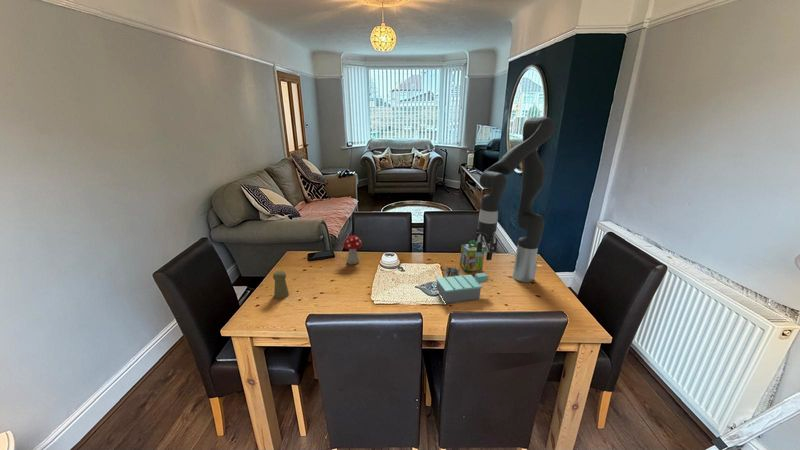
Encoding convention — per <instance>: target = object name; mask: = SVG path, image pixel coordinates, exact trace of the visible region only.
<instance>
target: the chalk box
mask: <svg viewBox="0 0 800 450" xmlns="http://www.w3.org/2000/svg"><path fill="white" fill-rule="evenodd" d="M460 247H461V249H460V259H459V265H460V266H461V268H462V269H463V270H464V271H465V272H478V271H480V272H481V271H483V265H484V258H485V257H484V256H485V249H483V248H482V252H477V251H476V250H477V243H476V241H475V239H473V240H468V243H465V244H461V246H460Z"/></svg>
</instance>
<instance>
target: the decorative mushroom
mask: <svg viewBox="0 0 800 450" xmlns="http://www.w3.org/2000/svg"><path fill="white" fill-rule="evenodd" d="M342 246H343V249H346V250H348V255H347V259H346V263H347V264H348V265H356V264H359V262H360V257H359V255H358V251H357V249H360V248H361V247H363V244H362V240H361V238H360V237H359V236H357V235H350V236H347V237H346V238H345V239H344V240H343V244H342Z"/></svg>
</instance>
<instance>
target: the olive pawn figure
mask: <svg viewBox="0 0 800 450" xmlns="http://www.w3.org/2000/svg"><path fill="white" fill-rule="evenodd" d="M272 278H273V280H274V292H273V295H274V296H273V297H274V299H277V300H283V299H285V298H288V297H289V296H290V292H289V289H288V285H287V281H286V278H287V274H286V272H285V271H284V270H278V271H275V272H273V274H272Z"/></svg>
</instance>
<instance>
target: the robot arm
mask: <svg viewBox="0 0 800 450" xmlns="http://www.w3.org/2000/svg"><path fill="white" fill-rule="evenodd" d="M554 132H555V122H554V120H553V119H552V118H551V117H542V116H539V117H537V116H535V117H528V118H526V120H525V121H524V123H523V127H522V142H520V143H519V144H517V145H515V146H513V147H512V148H510V149H509V150H508V151H506V153H504V155H503V156H502V157H501V158H500V159H499V160H498V161H497V162H495V163H494V164H492V165H491V166H489V167H488V168H486V169H485V170H484V171H483V172H482V173H481V175H480V177H479V184H480V186H481V187H483V189H488V190H491V191H490V193H489V194H488V193H487V194H484V195H482V197H481V202H480V208H479V209H480V210H479V215H478V224H477V228H476V229H475V233H474V240H475V241H476V243H477V250H476V251H477V252H482V249H483V244H484V246H485V248H486V256H485V260H486V261H491V260H492V257H493V253H497V248H498V238H497V237H495V238H494V234H495V233H496V232H497V227H498V220H499V206H500V202H501V201H500V200H501V198H502V196H503V193H504V191H505V188H506V185H507V177H506V176H509V175H511V174H512V173H513V172H514V171H515V170H516V169H517V168H518V166H519V165H520V164H521V163H522V171H521V186H520V188H521V190H520V197H519V198H520V200H519V206H518V210H517V211H518V212H517V219H516V224H517V227H518V228H519V229H520V230H522V231H524V232H527V233H526V236H522V237H521V236H520V237H519V238H518V240H517V245H516V252H515V258H514V259H515V260H514V266H513V271H512V277H513V279H514V280H516V281H519V282H520V283H521V282H522V283H530V282H532V281H533V280H535V278H536V271H537V265H538V261H537V255H538V249H539V245H540V242H541V240H542V237H543V233H544V228H545V218H544V217H543V216H542V215H541V214H538V213H535V212H533V206H534V205H533V204H534V201H535V199H536V198H537V196H538V195H539V194H540V193H541V191H542V189H543V187H544V183H545V174H546V173H545V168H544V165H543V162H542V160H541V158H540V156H539V154H538V150H537V149H538V148H539V147H540V146H541V145H543V144H544V143H546V142H547V141H548V140H549V139H550V138H551V137H552V136H553V133H554Z"/></svg>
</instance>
